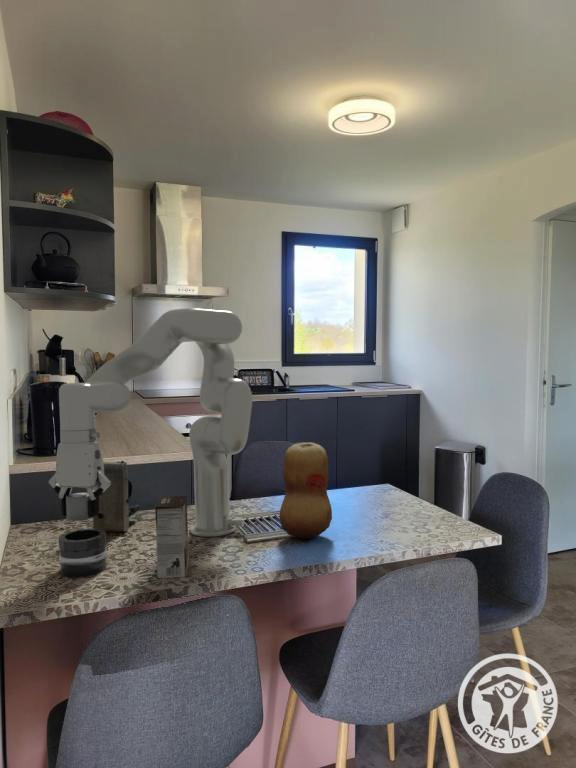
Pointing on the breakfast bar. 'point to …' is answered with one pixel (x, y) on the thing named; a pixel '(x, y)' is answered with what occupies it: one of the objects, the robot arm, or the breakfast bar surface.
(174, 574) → the coffee box
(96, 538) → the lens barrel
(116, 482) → the vintage camera
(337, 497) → the breakfast bar surface
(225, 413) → the robot arm
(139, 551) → the breakfast bar surface
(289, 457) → the butternut squash
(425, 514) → the breakfast bar surface
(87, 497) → the white rounded cube
